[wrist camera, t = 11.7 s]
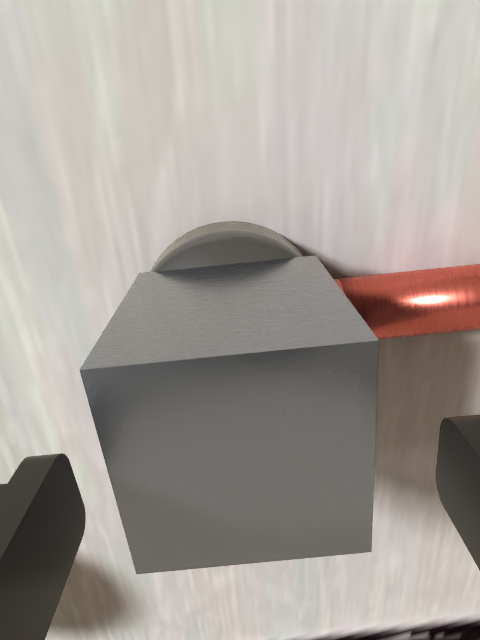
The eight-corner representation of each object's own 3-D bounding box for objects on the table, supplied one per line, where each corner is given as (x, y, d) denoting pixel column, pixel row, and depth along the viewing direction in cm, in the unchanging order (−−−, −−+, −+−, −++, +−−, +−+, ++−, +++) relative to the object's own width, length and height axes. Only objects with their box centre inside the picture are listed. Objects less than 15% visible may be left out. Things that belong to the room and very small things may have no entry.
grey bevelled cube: (315, 255, 13) (378, 340, 8) (319, 404, 16) (371, 551, 10) (139, 273, 13) (80, 370, 8) (168, 419, 16) (136, 574, 10)
